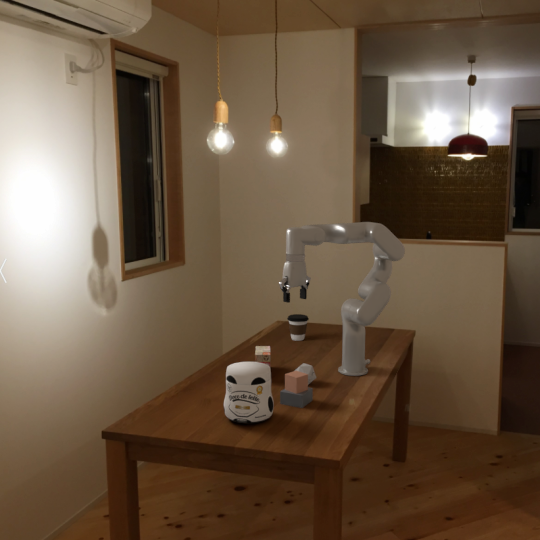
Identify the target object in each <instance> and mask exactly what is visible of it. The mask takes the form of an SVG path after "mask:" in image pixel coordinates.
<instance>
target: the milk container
mask: <svg viewBox="0 0 540 540" xmlns="http://www.w3.org/2000/svg"><path fill="white" fill-rule="evenodd" d="M225 371H226V372H225V395H224V399H223V411H224V415H225V416H226V418H227V419H228V420H230V421H232V422H234V423H238V424H247V425H248V424H249V425H251V424H258V423H262V422H265V421H266V420H268V419H270V418H271V417H272V415H273V412H274V406H275V404H274V402H275V401H274V397H273V393H272V372H271V365H270V366H268V365H267V364H264V363H259V362H255V361H240V362H234V363H231V364H229V365H227V367H226V370H225Z"/></svg>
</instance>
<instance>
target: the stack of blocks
mask: <svg viewBox="0 0 540 540" xmlns="http://www.w3.org/2000/svg"><path fill="white" fill-rule="evenodd" d="M254 360H255V361H254V362H259V363H264V364H267V365H268V366H270V367H271V346H270V345H260V346H259V345H256V346H255V353H254Z"/></svg>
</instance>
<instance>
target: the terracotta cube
mask: <svg viewBox="0 0 540 540" xmlns="http://www.w3.org/2000/svg"><path fill="white" fill-rule="evenodd" d="M308 387H309V384H308V374H306V373H303V372H299V371H295V370H293V371H291V372H287V373H285V374H284V389H285V390H288V391H290V392H293V393H296V394H297V393H300V392H303V391H306V390H308Z"/></svg>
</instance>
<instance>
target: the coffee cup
mask: <svg viewBox="0 0 540 540" xmlns="http://www.w3.org/2000/svg"><path fill="white" fill-rule="evenodd" d="M286 319H287V321H288V326H289V332H290V337H291V340H292V341H296V342H297V341H298V342H299V341H303V340H304V339H305V338H306V333H307V329H308V328H307V327H308V321H309V316H308V315H306V314H301V313H298V314H297V313H296V314H295V313H294V314H290V315H288V316H287V318H286Z"/></svg>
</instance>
